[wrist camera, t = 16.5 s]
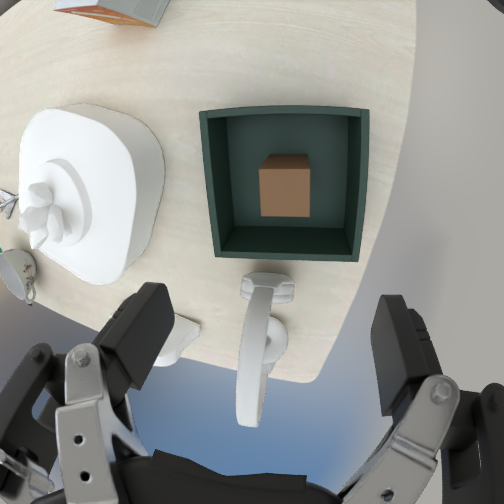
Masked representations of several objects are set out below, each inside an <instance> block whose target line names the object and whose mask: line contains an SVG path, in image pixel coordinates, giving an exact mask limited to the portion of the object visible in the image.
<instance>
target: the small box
mask: <svg viewBox="0 0 504 504" xmlns="http://www.w3.org/2000/svg"><path fill="white" fill-rule="evenodd" d="M169 1H170V0H57V1H56V3H55V6H54V8H53V11H59V12H65V13H70V14H75V15H80V16H84V17H89V18H93V19H97V20H101V21H104V22H108V23H111V24H128V25H140V26H149V27H157V25H158V23H159V21H160V19H161V17H162V15H163V13H164V11H165V9H166V7H167V5H168V3H169Z"/></svg>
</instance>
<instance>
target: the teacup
mask: <svg viewBox="0 0 504 504" xmlns="http://www.w3.org/2000/svg"><path fill="white" fill-rule="evenodd" d="M0 274H1V277H2V279H3V281H4V282H5V284H6V286H7V287H8V288H9V290H10V291H11V292H12V293H13V294H14V295H15V296H17V297H18V298H19V299H21V300H23V299H25V302H26V303H27V304H31V303H32V302H33V301H34V299H35V296H36V291H35V288H34V281H35V276H36V264H35V261H34V259H33V257H32V256H31V255H30V254H29V253H28V252H26V251H23V250H19V249H10V250H7V251H4V252H2V253H0ZM31 289H32V290H33V298H32V299H31V300H29V299H28V297H27V296H28V294H29V293H30V291H31Z"/></svg>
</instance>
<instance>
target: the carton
mask: <svg viewBox="0 0 504 504" xmlns="http://www.w3.org/2000/svg"><path fill="white" fill-rule="evenodd" d="M259 185H260V204H261V216H284V217H310V166H309V161H308V156H307V154H269V156H268V157H267V159H266V160H265V161H264V163H263V164H262V166H261V167H260V168H259Z"/></svg>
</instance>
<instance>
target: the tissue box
mask: <svg viewBox="0 0 504 504" xmlns="http://www.w3.org/2000/svg"><path fill="white" fill-rule="evenodd" d="M19 167H20V176H19V207H20V212H21V216H20V219H19V229H21V230H22V231H23V232H24V233H27V232H29V234H30V239H29V241H30V244H31V248H32V249H36V248H39V250H40V251H41V252H42V253H43V254H45V255H46V256H47V257H49V258H50V259H52V260H54V261H55V262H57V263H59V264H60V265H62V266H63V267H65V268H66V269H68V270H69V271H70V272H72V273H73V274H74V275H76V276H77V277H78V278H80V279H82V280H83V281H85V282H88V283H90V284H94V285H108V284H111V283H113V282H115V281H116V280H117V279H118V278H119V277H120V276H121V275H122V274H123V273H124V272H125V271H126V270H127V268H128V267H129V266H130V265H131V264H132V263H133V262H134V261H135V260H136V259H137V258H138V257H139V256H140V255H141V254H142V253H143V252H144V250H145V249H146V247H147V245H148V243H149V241H150V238H151V234H152V230H153V226H154V222H155V218H156V214H157V210H158V206H159V203H160V199H161V195H162V192H163V187H164V181H165V165H164V159H163V154H162V150H161V147H160V144H159V142H158V140H157V139H156V137H155V136H154V135H153V133H152V132H151V131H150V130H149V128H148V127H147V126H146V125H144V124H143V123H142V122H141V121H139V120H138V119H136V118H134V117H132V116H129V115H126V114H123V113H120V112H117V111H113V110H110V109H107V108H103V107H100V106H96V105H92V104H74V105H66V106H59V107H53V108H48V109H44V110H42V111H40V112H38V113H37V114H36V115H35V116H34V117H33V118H32V119H31V121H30V122H29V124H28V125H27V127H26V129H25V131H24V134H23V137H22V140H21V145H20V158H19Z"/></svg>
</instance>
